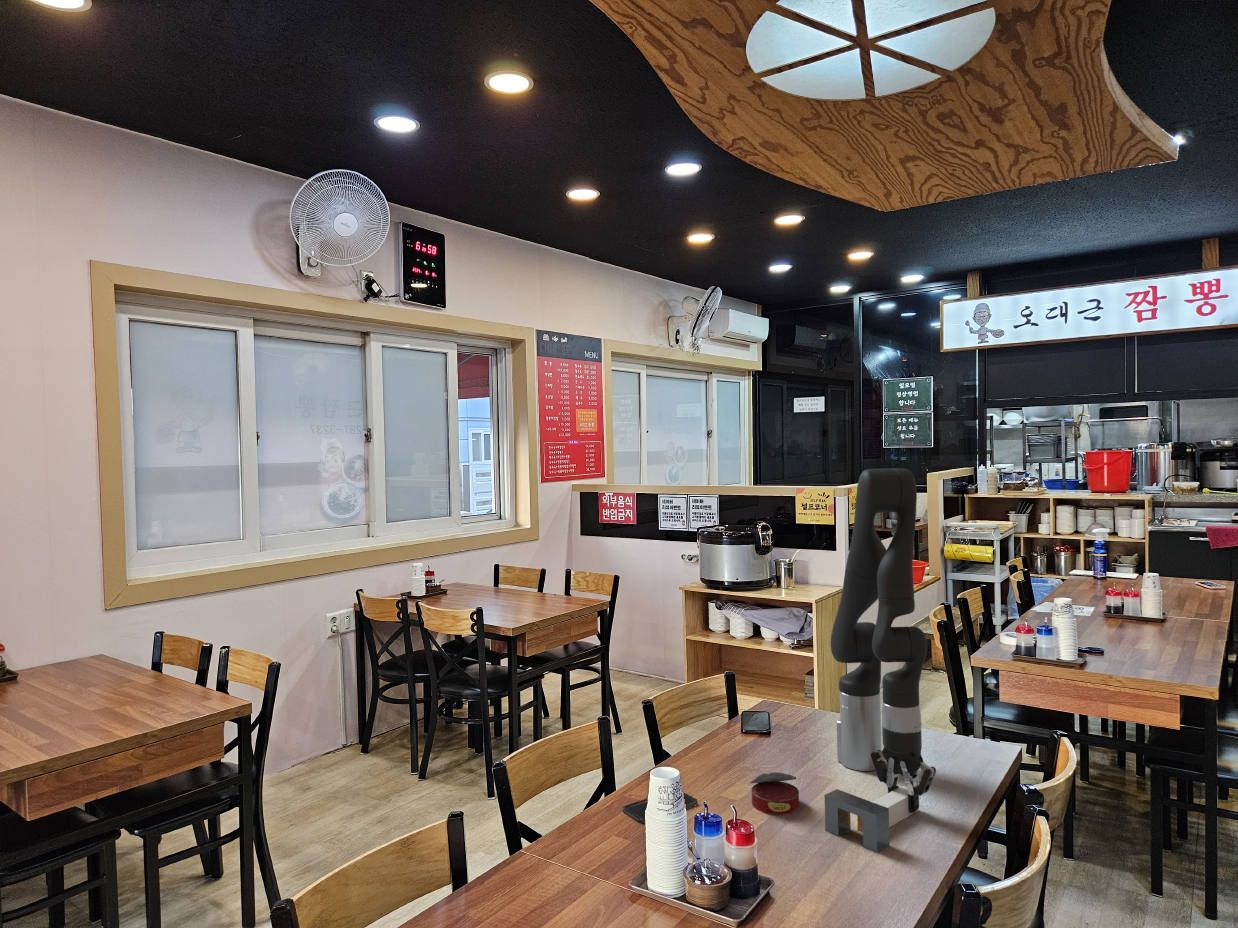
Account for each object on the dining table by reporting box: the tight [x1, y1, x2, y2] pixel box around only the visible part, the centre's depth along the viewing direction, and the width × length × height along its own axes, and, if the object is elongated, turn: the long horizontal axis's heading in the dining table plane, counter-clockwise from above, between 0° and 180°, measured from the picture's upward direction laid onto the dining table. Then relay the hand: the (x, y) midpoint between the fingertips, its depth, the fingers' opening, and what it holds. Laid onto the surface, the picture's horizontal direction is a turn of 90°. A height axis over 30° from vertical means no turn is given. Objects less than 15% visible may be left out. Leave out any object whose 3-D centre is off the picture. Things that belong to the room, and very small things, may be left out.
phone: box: [622, 792, 698, 825], centre depth 166 cm, size 8×1×15 cm
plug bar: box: [856, 785, 919, 833], centre depth 157 cm, size 4×16×4 cm, turn 129°
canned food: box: [749, 771, 800, 816], centre depth 166 cm, size 11×10×10 cm
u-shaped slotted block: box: [824, 788, 891, 853], centre depth 150 cm, size 12×4×7 cm, turn 39°
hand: (903, 807), depth 161 cm, fingers closed on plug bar, 3 cm apart
